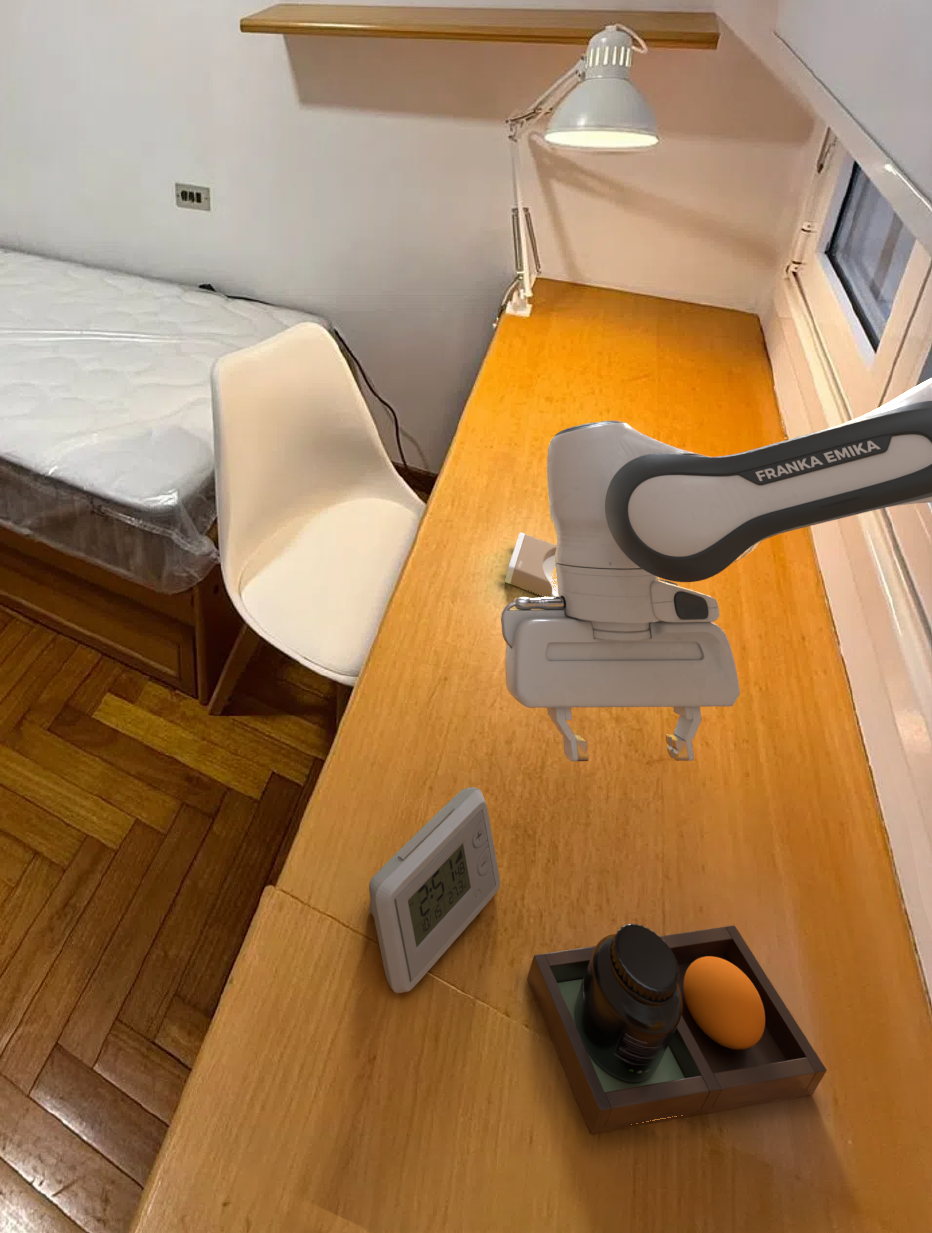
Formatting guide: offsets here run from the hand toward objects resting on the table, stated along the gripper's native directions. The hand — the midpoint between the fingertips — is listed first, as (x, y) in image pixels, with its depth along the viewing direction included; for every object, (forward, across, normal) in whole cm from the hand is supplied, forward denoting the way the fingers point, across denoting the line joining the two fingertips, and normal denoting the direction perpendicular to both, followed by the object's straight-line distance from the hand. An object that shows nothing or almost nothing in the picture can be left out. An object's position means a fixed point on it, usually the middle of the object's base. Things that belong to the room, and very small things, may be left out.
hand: (629, 759), depth 74 cm
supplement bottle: (+22, -3, +3) cm, 23 cm away
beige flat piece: (-8, +16, +44) cm, 48 cm away
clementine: (+19, +6, +2) cm, 21 cm away
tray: (+23, +2, +4) cm, 23 cm away
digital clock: (+17, -17, +10) cm, 26 cm away
